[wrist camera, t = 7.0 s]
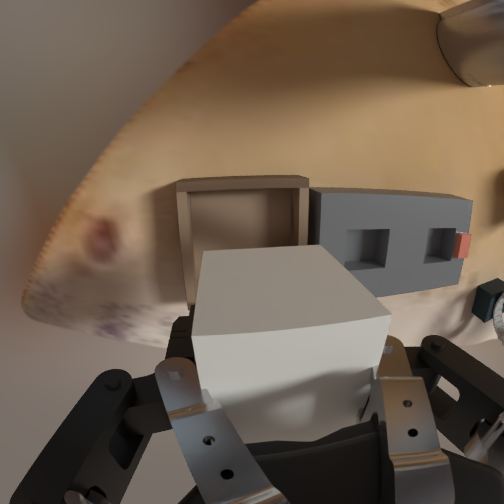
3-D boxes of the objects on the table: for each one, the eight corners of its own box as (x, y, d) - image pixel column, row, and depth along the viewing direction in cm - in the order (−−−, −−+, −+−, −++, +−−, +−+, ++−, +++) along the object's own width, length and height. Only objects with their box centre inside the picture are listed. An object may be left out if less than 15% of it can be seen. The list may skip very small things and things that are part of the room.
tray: (181, 179, 22) (175, 182, 19) (298, 175, 23) (309, 178, 20) (191, 293, 25) (188, 310, 22) (295, 287, 26) (303, 302, 23)
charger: (205, 237, 14) (191, 335, 6) (307, 232, 14) (392, 314, 7) (215, 340, 16) (218, 462, 8) (301, 333, 16) (350, 442, 9)
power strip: (307, 187, 23) (324, 194, 19) (451, 194, 25) (477, 202, 21) (303, 286, 26) (317, 309, 22) (439, 271, 28) (461, 286, 24)
